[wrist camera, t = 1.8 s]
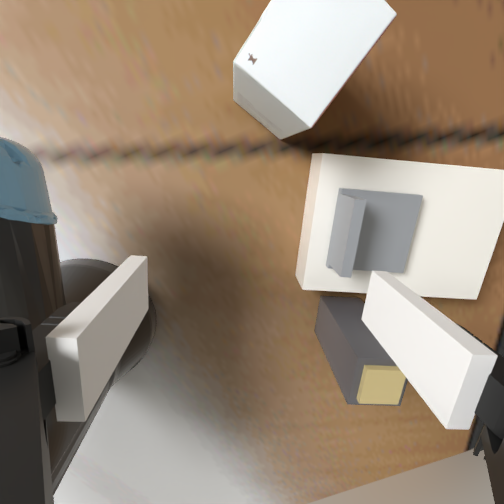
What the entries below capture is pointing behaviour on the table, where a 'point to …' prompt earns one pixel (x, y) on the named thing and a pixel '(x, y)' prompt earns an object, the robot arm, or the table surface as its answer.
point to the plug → (357, 354)
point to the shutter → (372, 231)
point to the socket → (426, 229)
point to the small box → (304, 58)
